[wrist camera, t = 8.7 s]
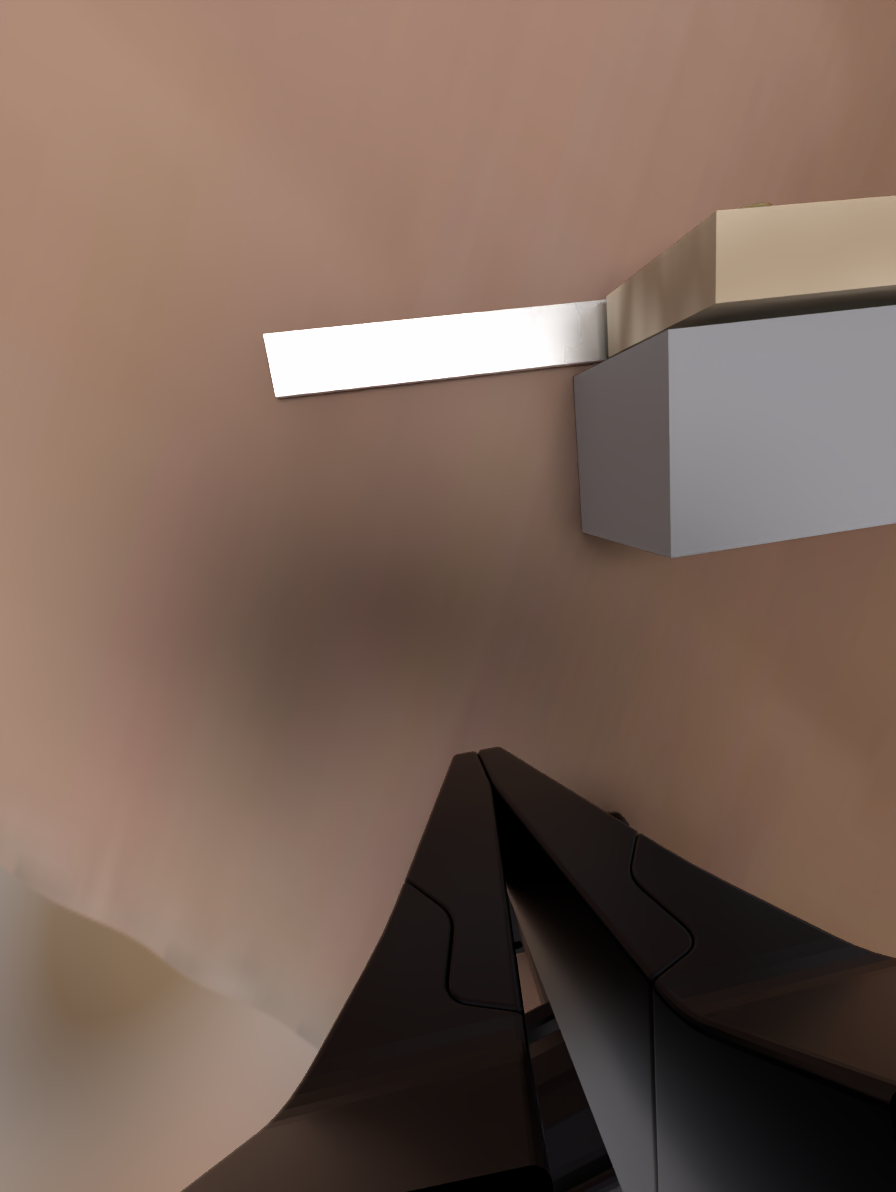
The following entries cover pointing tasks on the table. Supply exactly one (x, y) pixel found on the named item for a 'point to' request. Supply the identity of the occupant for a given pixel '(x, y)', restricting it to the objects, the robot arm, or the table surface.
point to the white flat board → (436, 348)
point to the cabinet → (741, 433)
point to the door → (762, 269)
